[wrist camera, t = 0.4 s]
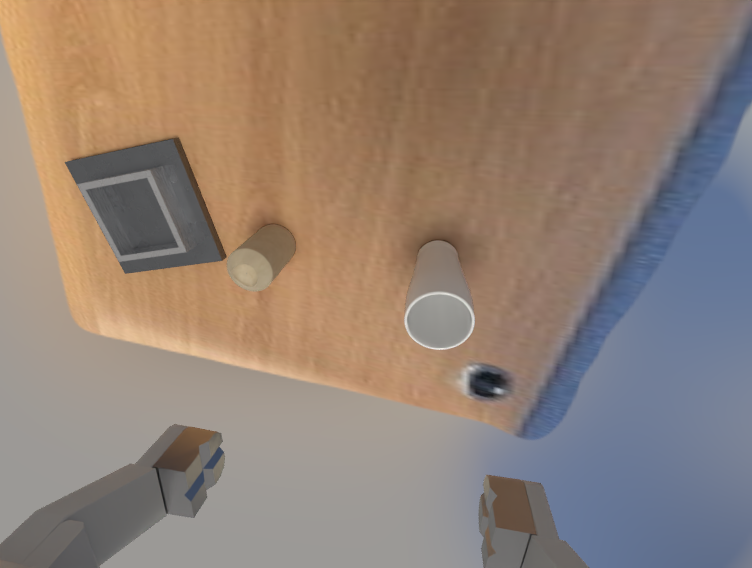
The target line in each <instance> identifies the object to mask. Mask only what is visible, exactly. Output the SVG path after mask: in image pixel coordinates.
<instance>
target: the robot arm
mask: <svg viewBox="0 0 752 568" xmlns="http://www.w3.org/2000/svg"><path fill="white" fill-rule="evenodd" d="M222 442H223V441H222V436H221V433H219V432H216V431H210V430H205V429H200V428H195V427H188V426H182V425H177V424H174V425H172V426H170V427H169V428H168V429H167V430H166V431H165V432H164V433H163V435H161V437H160V438H159V439H158V440H157V441H156V442H155V443H154V444H153V445H152V446H151V447H150V448H149V449H148V451H147V452H146V453H145V454H144V455H143V456H142V457H141V458H140V459H139V460H138V462H136V464H129V465H127V466H125V467H123V468H121V469H119V470H117V471H115V472H113V473H111V474H109V475H107V476H105V477H103V478H101V479H99V480H97V481H95V482H93V483H91V484H89V485H87V486H85V487H83V488H81V489H79V490H77V491H75V492H73V493H71V494H69V495H67V496H65V497H63V498H61V499H59V500H57V501H55V502H53V503H51V504H49V505H47V506H45V507H43V508H41V509H39V510H37V511H35V512H34V513H33V514H32V515H31V516H30V517H29V518H28V519H27V520H26V521H25V522H24V523H22V524H21V525H20V526H19V527H18V528H17V529H16V530H15V531H14V532H13V533H12V534H11V535H10V536H9V537H8V538H6V539H5V540H4V541H3V542H2V543H1V544H0V568H100V567H99V566H100V565H101V564H103V563H104V562H105V561H107V560H108V559H109V558H111V557H112V556H113V555H114V554H116V553H117V552H119V551H120V550H121V549H123V548H124V547H125V546H127V545H128V544H129V543H131V542H132V541H133V540H135V539H136V538H137V537H138V536H140V535H141V534H142V533H144V532H145V531H147V530H148V529H149V528H151V527H152V526H153V525H154V524H155V523H157V522H159V521H160V520H161V519H163V518H164V517H165V516H166V514H172V515H179V516H185V517H191V518H194V517H195V515H196V514H197V512H198V511H199V509H200V508H201V506H202V505H203V503H204V501H205V500H206V498H207V492H206V490H207V489H209V488H210V487H212V486H214V485H215V484H216V483H217V481H218V479H219V478H220V476H221V473H222V470H223V468H224V461H225V455H224V452H223V450H222V449H221V448H220V447H219V446H220V444H221V443H222ZM483 486H484V493H483V494H482V495H481V497H480V502H479V530H480V533H481V534H482V536H483V537H484V539H483V543H482V548H481V549H482V558H483V567H484V568H589V567H588V566H587V565H586V563H585V562H584V561H583V560H582V559H581V558H580V557H579V556H578V555H577V553H576V552H575V551H574V550H573V549H572V548H571V547H570V546H569V544H568V543H567V542H566V541H563V540H559V536H558V533H557V530H556V527H555V523H554V520H553V517H552V513H551V510H550V507H549V504H548V501H547V497H546V494H545V491H544V487H543V486H542V484H541V483H537V482H531V481H524V480H522V481H521V480H519V479H512V478H504V477H498V476H491V475H486V477H485V479H484V483H483Z"/></svg>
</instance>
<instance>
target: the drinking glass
mask: <svg viewBox="0 0 752 568" xmlns="http://www.w3.org/2000/svg"><path fill="white" fill-rule="evenodd" d="M404 323H405V327H406V330H407V332H408V334H409V335H410V337H411V338H412V339H413V340H414V341H415V342H417V343H418V344H420V345H422V346H424V347H427V348H430V349H436V350H444V349H450V348H453V347H456V346H458V345H460V344H461V343H463V342H464V341H465V340H466V339H467V338H468V337H469V336H470V335H471V333H472V331H473V329H474V324H475V316H474V306H473V300H472V296H471V292H470V289H469V286H468V283H467V280H466V278H465V275H464V273H463V270H462V267H461V264H460V261H459V256H458V253H457V251H456V249H455V248H454V247H453V246H452V245H451V244H449V243H448V242H445V241H440V240H436V241H431V242H428V243H426V244H425V245H424V246H423V247H422V248H421V249H420V250H419V252H418V254H417V259H416V265H415V268H414V271H413V275H412V278H411V281H410V284H409V288H408V291H407V296H406V302H405V315H404Z"/></svg>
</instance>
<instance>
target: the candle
mask: <svg viewBox="0 0 752 568" xmlns="http://www.w3.org/2000/svg"><path fill="white" fill-rule="evenodd" d="M295 249H296V243H295V239H294V237H293V235H292V234H291V233H290V232H289V231H288V230H287V229H286V228H284V227H282V226H280V225H276V224H270V225H266V226H264V227H262V228H261V229H260V230H258V231H257V232H256V233H255V234H254V235H253V236H251V237H250V238H249V239H248V240H247V241H245V242H244V243H243V244H242V245H241V246H239V247H238V248H237V249H236V250H235V251H234V252H232V253H231V254H230V256H229V258H228V260H227V270H228V273H229V275H230V277H231V279H232V280H233V281H234V282H235V283H236V284H237V285H238V286H240V287H241V288H243V289H245V290H249V291H261V290H264V289H266V288H267V287H268V286H269V285H270V284H271V283H272V281H273V280H274V279H275V278H276V276H277V275H278V274H279V273H280V271H281V270H282V269H283V268H284V267H285V265H286V264H287V263H288V262H289V260H290V259H291V258H292V256H293V255H294V253H295Z"/></svg>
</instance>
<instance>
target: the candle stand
mask: <svg viewBox="0 0 752 568" xmlns="http://www.w3.org/2000/svg"><path fill="white" fill-rule="evenodd" d="M65 164H66V165H67V167H68V169H69V171H70V173H71V175H72V177H73V178H74V180H75V182H76V184H77V186H78V188H79V189H80V191H81V193H82V195H83V197H84V199H85V200H86V202H87V204H88V206H89V208H90V210H91V212H92V213H93V215H94V217H95V219H96V221H97V223H98V224H99V226H100V228H101V230H102V232H103V234H104V235H105V237H106V239H107V241H108V243H109V245H110V247H111V248H112V250H113V252H114V254H115V256H116V258H117V259H118V261H119V263H120V265H121V267H122V269H123V270H124V272H125V274H126V273H134V272H141V271H149V270H156V269H164V268H171V267H179V266H186V265H193V264H201V263H208V262H216V261H222V260H224V259H225V258H226V255H225V252H224V250H223V247H222V245H221V242H220V240H219V237H218V235H217V232H216V230H215V227H214V225H213V222H212V220H211V217H210V215H209V212H208V210H207V207H206V205H205V202H204V200H203V197H202V195H201V192H200V190H199V187H198V185H197V182H196V180H195V177H194V175H193V172H192V170H191V167H190V165H189V162H188V160H187V157H186V155H185V152H184V150H183V147H182V145H181V142H180V140H179V138H174V139H170V140H165V141H161V142H156V143H151V144H147V145H142V146H137V147H133V148H128V149H123V150H119V151H114V152H110V153H105V154H100V155H96V156H91V157H86V158H82V159H77V160H72V161H68V162H65Z"/></svg>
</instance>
